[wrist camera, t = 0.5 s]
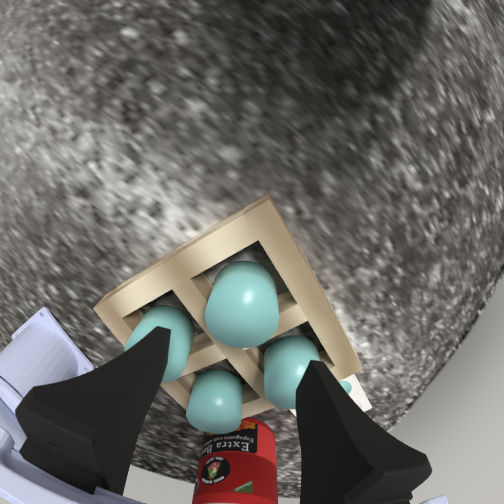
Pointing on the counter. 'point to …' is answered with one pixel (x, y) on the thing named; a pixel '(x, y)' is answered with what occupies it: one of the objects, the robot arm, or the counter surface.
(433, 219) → the counter surface
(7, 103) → the counter surface
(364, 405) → the tile
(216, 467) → the canned food
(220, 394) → the button
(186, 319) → the button
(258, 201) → the wooden compartment tray
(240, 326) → the button
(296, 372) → the button
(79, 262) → the counter surface
